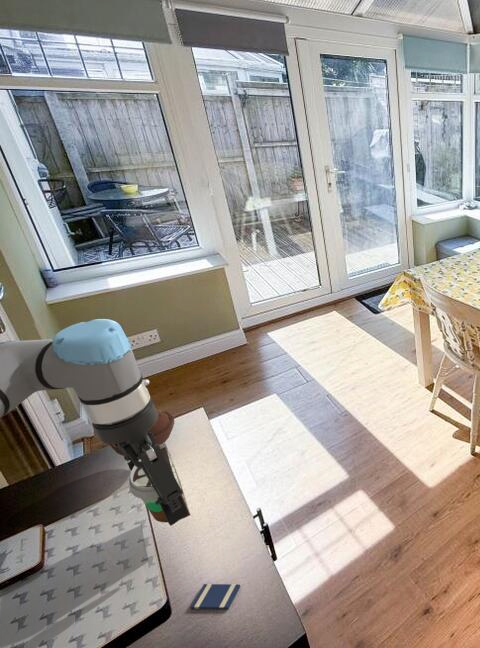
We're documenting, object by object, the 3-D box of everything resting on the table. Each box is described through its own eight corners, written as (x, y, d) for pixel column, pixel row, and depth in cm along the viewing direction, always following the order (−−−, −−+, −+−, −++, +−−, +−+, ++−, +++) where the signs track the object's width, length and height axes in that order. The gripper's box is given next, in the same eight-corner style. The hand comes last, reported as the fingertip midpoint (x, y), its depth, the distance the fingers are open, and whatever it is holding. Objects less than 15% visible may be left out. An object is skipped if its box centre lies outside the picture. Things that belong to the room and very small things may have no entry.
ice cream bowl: (109, 476, 88) (83, 422, 82) (160, 437, 98) (140, 387, 92) (148, 487, 86) (124, 434, 80) (196, 446, 96) (178, 396, 90)
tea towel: (191, 609, 67) (190, 606, 67) (204, 585, 70) (203, 583, 70) (228, 609, 67) (227, 607, 67) (240, 586, 70) (239, 584, 70)
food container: (139, 496, 79) (122, 458, 75) (179, 477, 83) (164, 440, 79) (149, 544, 71) (129, 505, 67) (192, 520, 75) (176, 482, 71)
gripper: (183, 426, 64) (218, 519, 73) (122, 370, 76) (158, 456, 84) (122, 459, 58) (168, 556, 67) (66, 393, 70) (111, 483, 78)
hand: (163, 500), depth 76 cm, fingers closed on food container, 12 cm apart
